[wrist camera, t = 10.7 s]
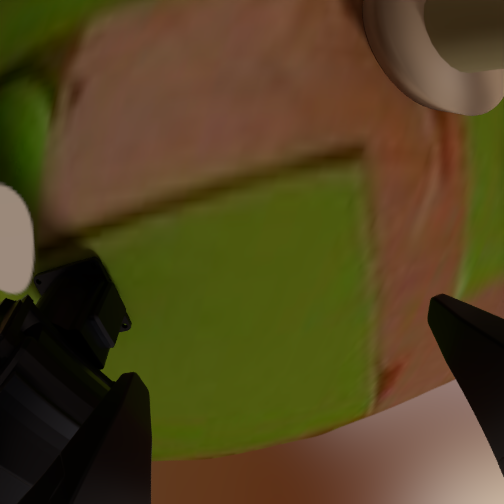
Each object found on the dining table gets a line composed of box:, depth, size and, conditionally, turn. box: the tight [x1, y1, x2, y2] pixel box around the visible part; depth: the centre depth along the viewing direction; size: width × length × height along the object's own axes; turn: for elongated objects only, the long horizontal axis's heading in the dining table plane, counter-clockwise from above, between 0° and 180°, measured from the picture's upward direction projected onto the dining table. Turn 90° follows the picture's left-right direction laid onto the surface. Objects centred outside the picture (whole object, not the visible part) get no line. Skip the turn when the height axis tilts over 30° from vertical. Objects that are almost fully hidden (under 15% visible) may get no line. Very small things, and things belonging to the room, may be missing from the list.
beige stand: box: [362, 0, 504, 116], centre depth 14 cm, size 12×12×3 cm
